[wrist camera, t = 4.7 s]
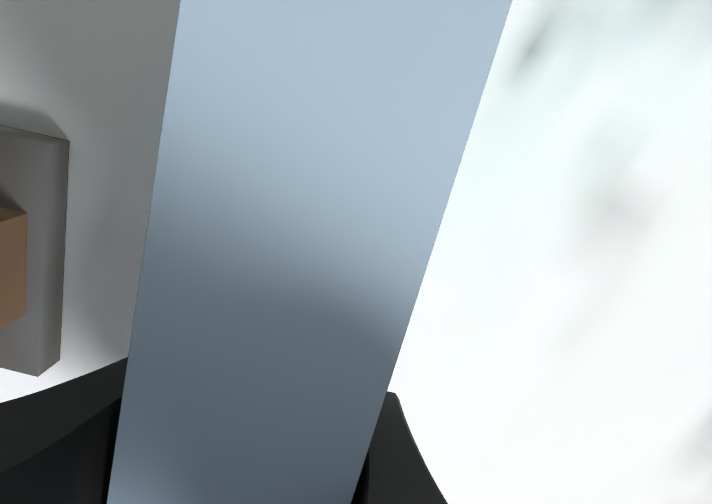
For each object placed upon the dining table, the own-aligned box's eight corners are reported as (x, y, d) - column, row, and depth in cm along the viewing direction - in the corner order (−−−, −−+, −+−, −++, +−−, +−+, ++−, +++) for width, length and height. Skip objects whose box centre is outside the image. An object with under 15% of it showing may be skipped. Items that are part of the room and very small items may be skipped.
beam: (280, 656, 16) (221, 904, 11) (164, 620, 16) (55, 851, 11) (484, -14, 10) (544, -100, 5) (304, -63, 10) (209, -190, 6)
